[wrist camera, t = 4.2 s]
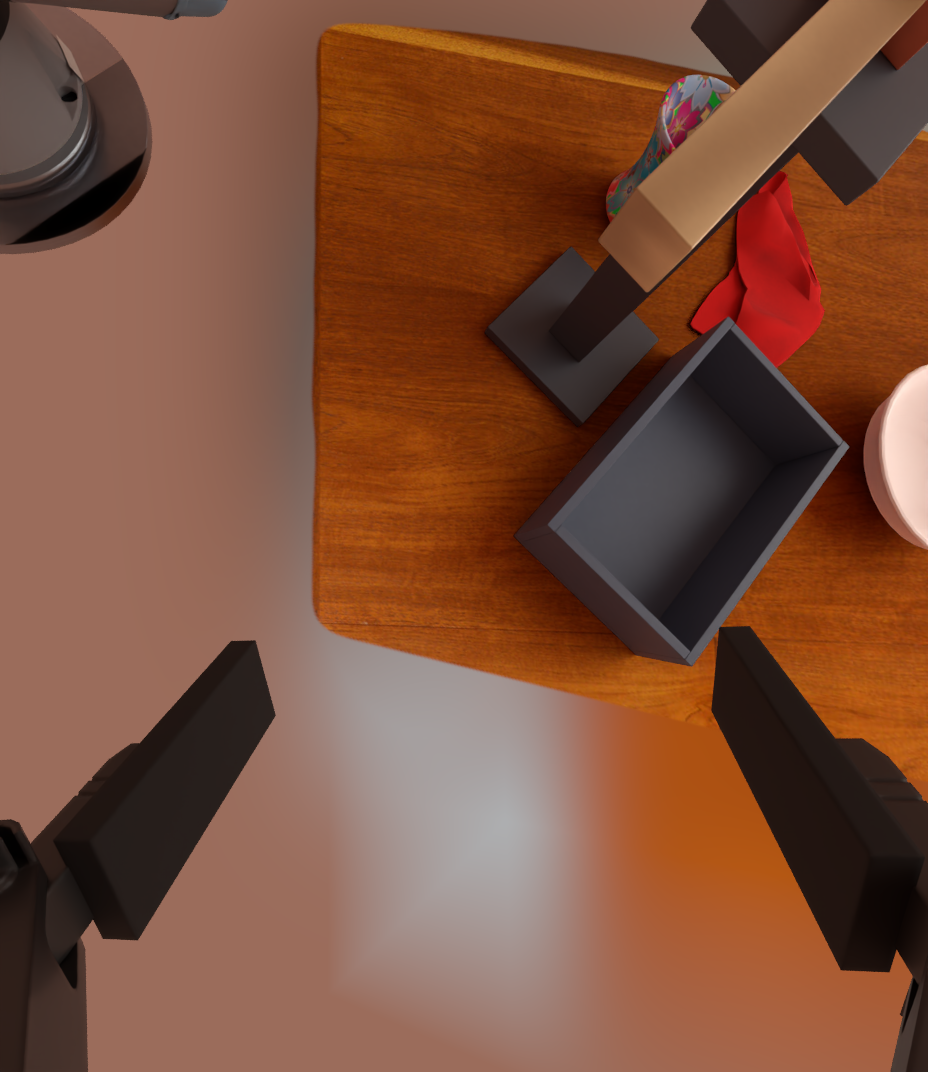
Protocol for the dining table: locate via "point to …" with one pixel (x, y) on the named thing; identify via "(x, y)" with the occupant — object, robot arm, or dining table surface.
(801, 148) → the stand
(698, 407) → the bin
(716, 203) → the mallet
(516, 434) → the dining table surface
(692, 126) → the mug
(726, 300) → the cloth
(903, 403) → the bowl
